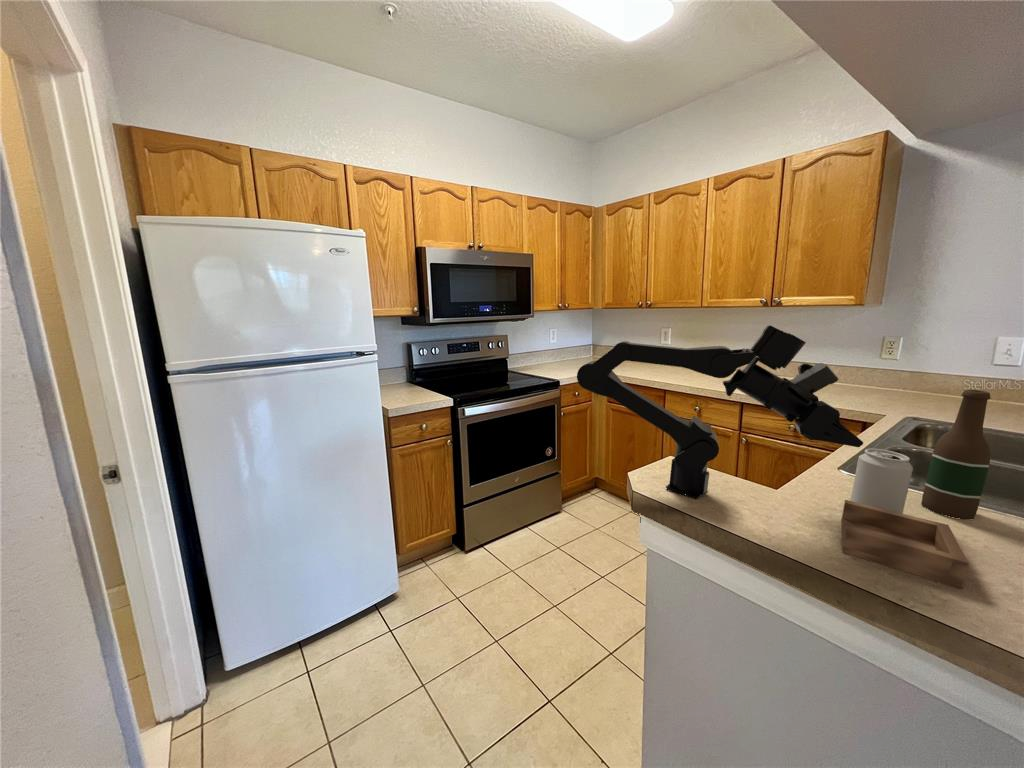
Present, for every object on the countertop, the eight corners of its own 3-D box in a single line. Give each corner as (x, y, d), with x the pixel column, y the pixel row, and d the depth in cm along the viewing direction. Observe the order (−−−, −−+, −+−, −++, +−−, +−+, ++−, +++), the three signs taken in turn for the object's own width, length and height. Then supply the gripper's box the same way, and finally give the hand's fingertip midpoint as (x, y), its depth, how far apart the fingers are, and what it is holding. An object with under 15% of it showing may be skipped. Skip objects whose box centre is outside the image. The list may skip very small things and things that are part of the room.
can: (907, 526, 72) (922, 463, 69) (854, 515, 75) (866, 455, 73) (893, 509, 78) (906, 451, 76) (844, 499, 82) (856, 443, 79)
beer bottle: (928, 514, 76) (958, 392, 72) (912, 497, 83) (938, 385, 79) (986, 525, 73) (1021, 397, 68) (964, 507, 80) (994, 389, 75)
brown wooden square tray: (842, 552, 63) (846, 529, 63) (841, 519, 73) (845, 499, 73) (961, 588, 55) (968, 563, 55) (942, 547, 65) (948, 524, 65)
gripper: (811, 358, 64) (914, 413, 60) (787, 348, 81) (866, 391, 77) (764, 413, 68) (857, 468, 64) (750, 393, 85) (823, 435, 80)
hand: (851, 437), depth 71 cm, fingers open, 9 cm apart
